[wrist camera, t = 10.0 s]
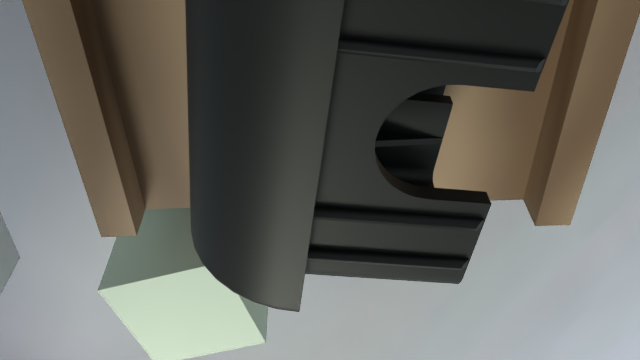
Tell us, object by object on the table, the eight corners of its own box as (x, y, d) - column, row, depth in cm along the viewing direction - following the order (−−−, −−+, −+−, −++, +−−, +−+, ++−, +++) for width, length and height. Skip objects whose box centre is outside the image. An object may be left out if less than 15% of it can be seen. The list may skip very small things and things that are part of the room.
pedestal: (136, 146, 24) (101, 236, 20) (27, -286, 16) (-73, -286, 12) (524, 136, 25) (570, 224, 20) (626, -298, 16) (743, -303, 12)
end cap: (209, -204, 14) (148, -152, 8) (506, -164, 14) (625, -93, 9) (208, 150, 20) (173, 309, 14) (417, 166, 20) (456, 326, 15)
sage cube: (176, 278, 30) (156, 364, 26) (128, 205, 27) (97, 290, 23) (271, 256, 29) (265, 342, 25) (232, 179, 26) (219, 262, 22)
